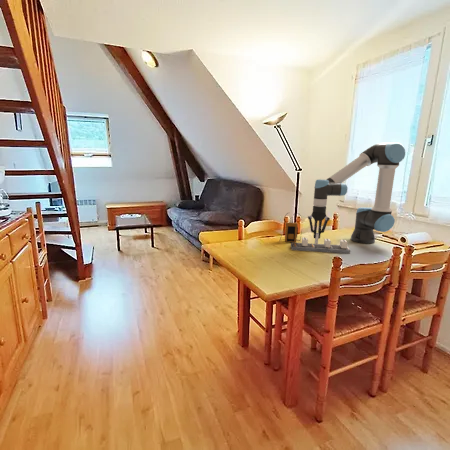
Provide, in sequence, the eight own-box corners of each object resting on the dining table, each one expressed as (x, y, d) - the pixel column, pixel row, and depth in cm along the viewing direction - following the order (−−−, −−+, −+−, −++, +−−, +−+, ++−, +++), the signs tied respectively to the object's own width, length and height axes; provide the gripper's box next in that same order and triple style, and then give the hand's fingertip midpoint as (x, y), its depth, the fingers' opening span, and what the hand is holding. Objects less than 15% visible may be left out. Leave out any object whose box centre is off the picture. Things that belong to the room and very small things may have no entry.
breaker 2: (328, 245, 181) (329, 238, 180) (330, 247, 176) (331, 240, 175) (323, 244, 181) (324, 238, 180) (325, 247, 176) (325, 240, 175)
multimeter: (299, 238, 203) (301, 210, 198) (301, 242, 193) (303, 213, 189) (278, 237, 204) (279, 210, 200) (279, 241, 195) (281, 212, 190)
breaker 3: (344, 246, 179) (345, 239, 178) (346, 248, 175) (347, 241, 174) (339, 245, 180) (340, 239, 179) (341, 248, 175) (342, 241, 174)
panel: (345, 248, 182) (346, 245, 182) (350, 253, 172) (350, 250, 172) (290, 245, 187) (290, 242, 187) (291, 250, 178) (291, 246, 177)
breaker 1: (306, 243, 183) (307, 237, 182) (307, 246, 178) (307, 239, 177) (301, 243, 183) (302, 237, 182) (302, 245, 178) (302, 239, 178)
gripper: (329, 205, 177) (326, 242, 182) (307, 204, 178) (304, 241, 184) (332, 207, 169) (328, 245, 175) (309, 206, 171) (306, 244, 177)
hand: (316, 243), depth 179 cm, fingers closed
